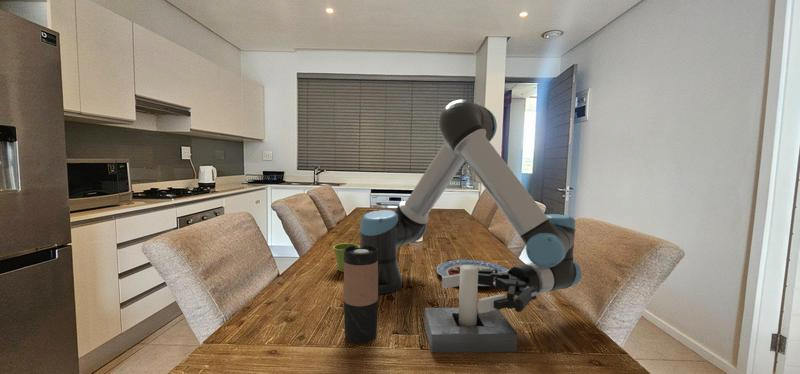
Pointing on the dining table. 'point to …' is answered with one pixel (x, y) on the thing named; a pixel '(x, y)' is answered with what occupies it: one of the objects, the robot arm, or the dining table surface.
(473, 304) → the peg
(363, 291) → the travel mug
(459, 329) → the hole block
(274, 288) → the dining table surface
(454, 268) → the ceramic plate
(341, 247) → the plant pot
